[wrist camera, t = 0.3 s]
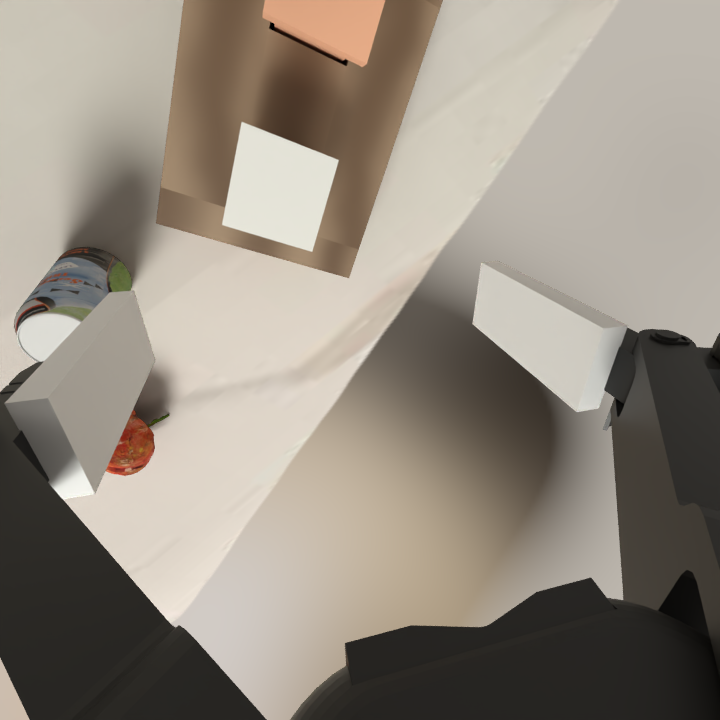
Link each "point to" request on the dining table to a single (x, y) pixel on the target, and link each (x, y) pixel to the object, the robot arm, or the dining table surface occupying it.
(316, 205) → the white block
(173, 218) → the brown boxy piece
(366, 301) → the dining table surface
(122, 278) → the beverage can
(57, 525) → the robot arm
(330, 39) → the terracotta key
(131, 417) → the red round fruit
